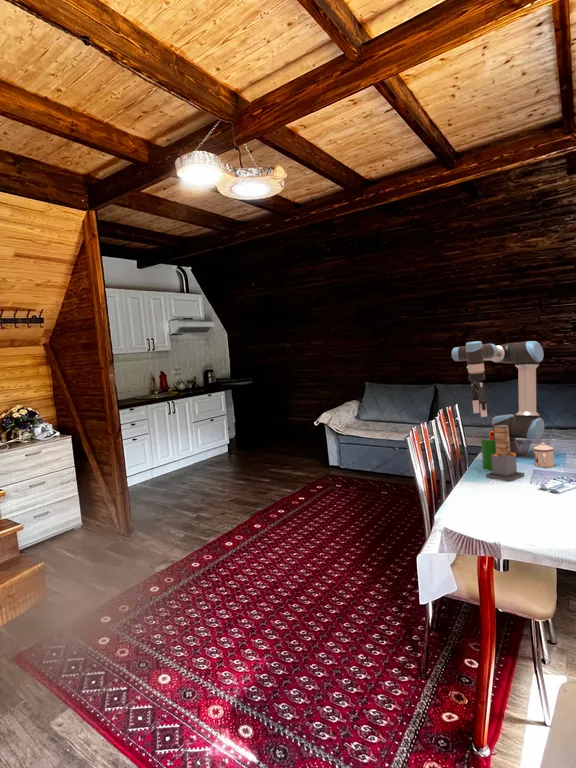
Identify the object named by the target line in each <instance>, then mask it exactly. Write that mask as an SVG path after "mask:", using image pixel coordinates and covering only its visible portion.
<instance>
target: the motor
mask: <svg viewBox="0 0 576 768" xmlns="http://www.w3.org/2000/svg"><path fill="white" fill-rule="evenodd" d="M480 445H481V458H482V469H483V470H486V471H490V472H493V470H492V457H491V454H492V453H496V443H495V440H494V431H493V430H492V431H491V430H490V431H489V439H484V438H483V437H482V438H480Z"/></svg>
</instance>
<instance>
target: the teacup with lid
mask: <svg viewBox="0 0 576 768" xmlns="http://www.w3.org/2000/svg"><path fill="white" fill-rule="evenodd" d="M554 450H555V449H554V447H553V446H549V445H548V444H546V443H545V442H541V443H540V444H538V445H537V446H534V447H533V454H534V455H533V456H534V465H535V466H536V467H539V468H551V467H553V468H554V466H555V456H554Z"/></svg>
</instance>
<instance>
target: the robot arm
mask: <svg viewBox="0 0 576 768" xmlns="http://www.w3.org/2000/svg"><path fill="white" fill-rule="evenodd" d="M544 355H545V354H544V349H543V346H542V345H541V343H540V342H538V341H536V340H534V341H533V340H532V341H531V340H530V341H529V340H528V341H527V340H526V341H520V342H510V343H504V344H500V345H499V344H498V345H496V344H493V343H485V344H484V343H483V342H482V341H481V340H479V341H478V340H477V341H468V342H466V343H465V345H464V346H458V347H457V346H456V347H453V348H452V350H451V358H452V360H453V361H454V362H463V361H465V362H467V366H466V369H467V372H468V381H470V383H471V384H470V385H471V386H470V387H471V388H470V389H471V392H470V398H471V400H472V408H473V409H472V411H473V414H480V417H481V418H485V417H488V412H487V411H488V410H487V408H488V407H487V403H488V398H487V394H486V389H485V383H484V382H482V381H484V380H486V373H485V371H486V370H485V363H484V361H492V363H493V362H494V363H503V364H514V367H516V368H517V370H518V374H517V375H518V377H517V378H518V379H517V380H518V381H517V382H518V412H516V413H515V414H511V413H510V414H503V415H496V416H493V417H492V420H491V425H492V431H495V430H494V426H498V425H506V426H508V429H509V441H510V452H513V453H516V457H519V456H521V449H520V448H519V446H518V443H517V439H524V440H525V439H526V440H538V439H540V438H541V437H542V435H543V434H544V430H545V421H544V419H543V418H541V416H540V414H539V412H537V371H536V370H537V368H538V367H539V366H540V362H542V361H543V360H544ZM494 440H495V433H494Z"/></svg>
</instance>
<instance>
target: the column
mask: <svg viewBox="0 0 576 768" xmlns="http://www.w3.org/2000/svg"><path fill="white" fill-rule="evenodd" d="M494 430H495V431H494V433H495V443H496V453H500V454H501V455H507V454H510V441H509V429H508V426H506V425H498V426H494Z"/></svg>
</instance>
